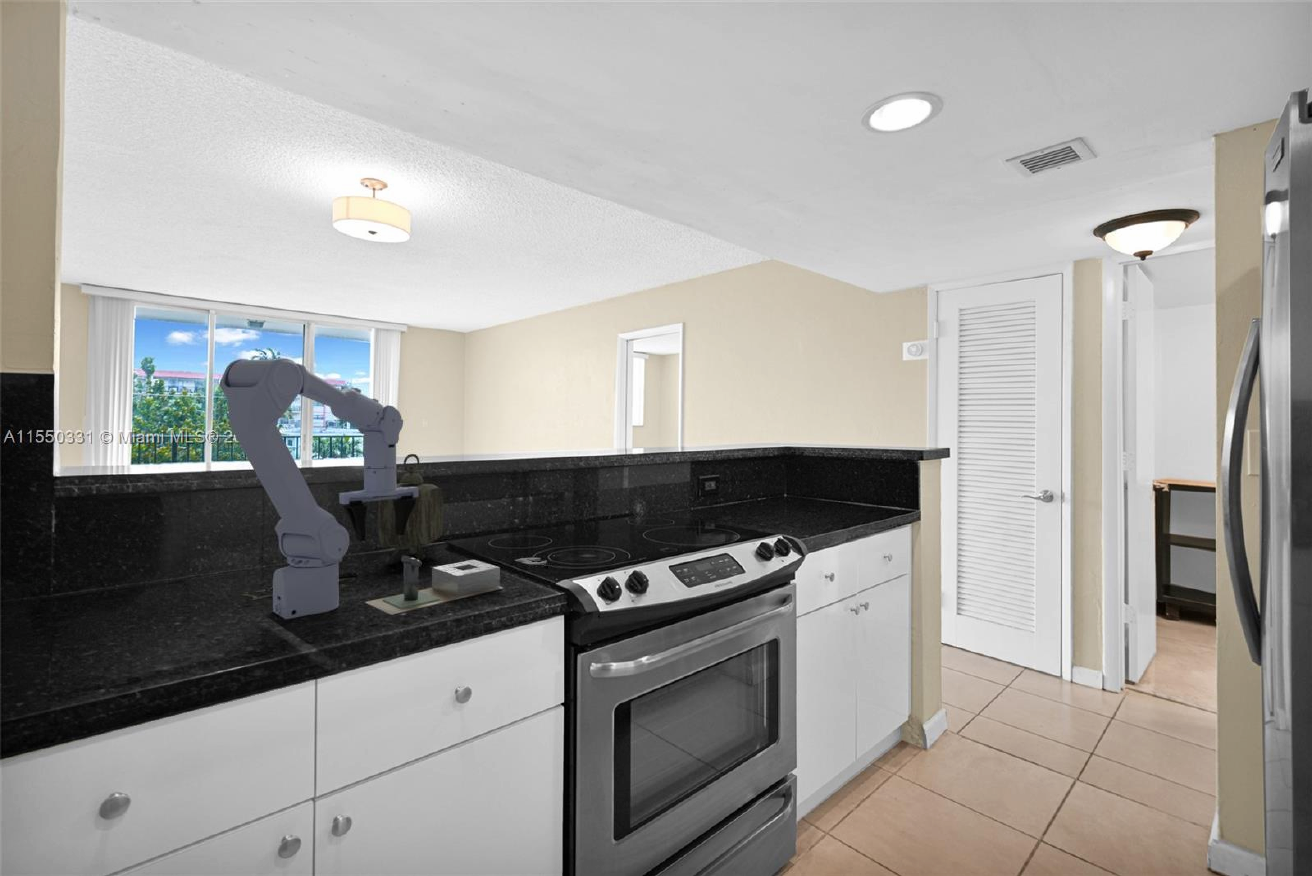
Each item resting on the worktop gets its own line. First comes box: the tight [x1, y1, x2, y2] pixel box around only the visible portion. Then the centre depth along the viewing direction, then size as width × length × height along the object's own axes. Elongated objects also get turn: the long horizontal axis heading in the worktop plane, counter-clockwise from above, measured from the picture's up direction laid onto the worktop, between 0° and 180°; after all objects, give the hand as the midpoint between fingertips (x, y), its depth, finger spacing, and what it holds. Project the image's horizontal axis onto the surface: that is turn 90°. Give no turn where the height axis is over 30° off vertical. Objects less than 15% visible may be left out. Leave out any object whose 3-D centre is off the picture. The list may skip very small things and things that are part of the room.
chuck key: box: [400, 555, 422, 601], centre depth 110 cm, size 2×6×7 cm, turn 49°
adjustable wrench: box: [430, 557, 548, 568], centre depth 139 cm, size 25×6×2 cm, turn 102°
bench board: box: [364, 586, 503, 616], centre depth 114 cm, size 22×10×1 cm, turn 139°
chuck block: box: [431, 559, 501, 598], centre depth 118 cm, size 9×9×4 cm
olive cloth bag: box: [377, 453, 444, 565], centre depth 146 cm, size 14×9×25 cm, turn 174°
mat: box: [382, 590, 439, 609], centre depth 110 cm, size 7×7×1 cm
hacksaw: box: [232, 569, 359, 608], centre depth 121 cm, size 24×10×2 cm, turn 136°
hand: (380, 537), depth 120 cm, fingers open, 7 cm apart
